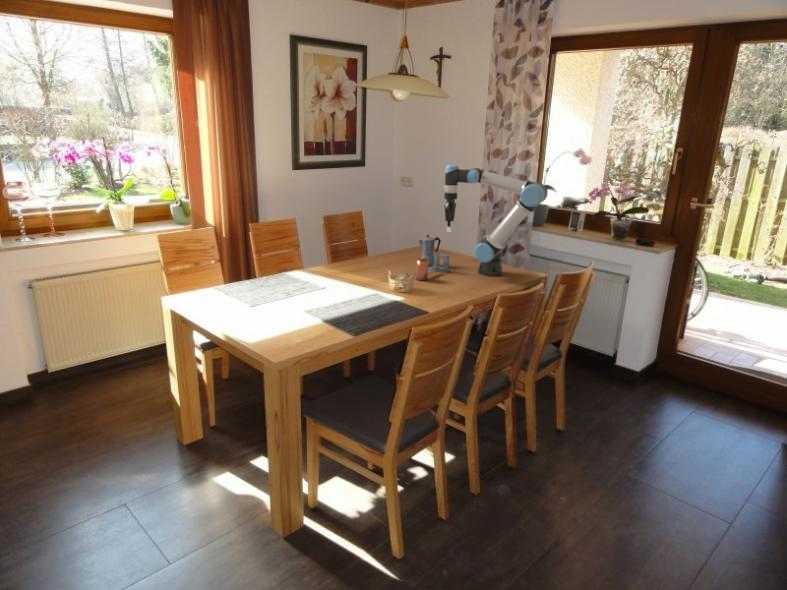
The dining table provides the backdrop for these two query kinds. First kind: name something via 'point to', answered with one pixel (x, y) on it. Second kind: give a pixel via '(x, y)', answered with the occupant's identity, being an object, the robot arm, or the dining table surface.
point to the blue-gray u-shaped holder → (445, 266)
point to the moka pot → (429, 248)
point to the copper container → (423, 269)
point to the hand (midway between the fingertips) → (449, 231)
